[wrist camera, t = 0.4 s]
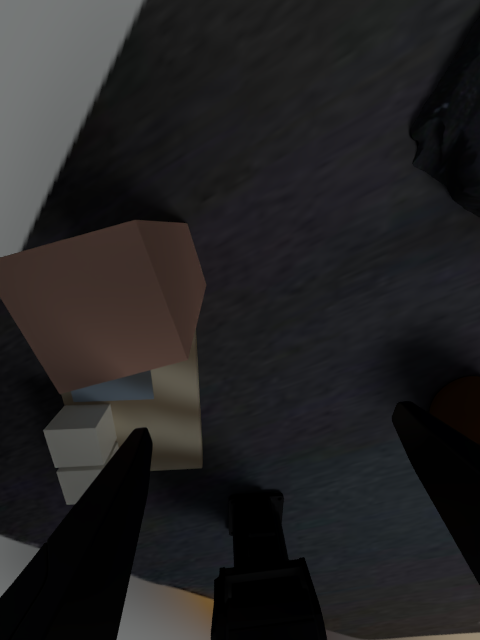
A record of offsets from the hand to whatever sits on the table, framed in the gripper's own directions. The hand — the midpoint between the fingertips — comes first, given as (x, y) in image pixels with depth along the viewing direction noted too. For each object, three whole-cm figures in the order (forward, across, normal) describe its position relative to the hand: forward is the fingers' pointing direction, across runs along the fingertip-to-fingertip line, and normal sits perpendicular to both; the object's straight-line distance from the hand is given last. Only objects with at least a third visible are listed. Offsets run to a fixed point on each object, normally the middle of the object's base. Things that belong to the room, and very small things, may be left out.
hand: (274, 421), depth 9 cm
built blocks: (+10, +15, +14) cm, 23 cm away
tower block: (+15, +6, -1) cm, 16 cm away
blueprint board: (+12, +11, +11) cm, 20 cm away
